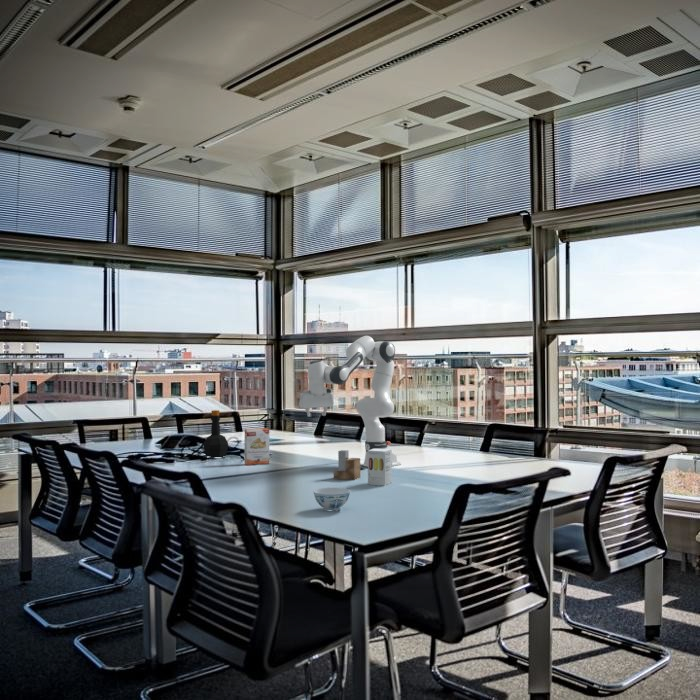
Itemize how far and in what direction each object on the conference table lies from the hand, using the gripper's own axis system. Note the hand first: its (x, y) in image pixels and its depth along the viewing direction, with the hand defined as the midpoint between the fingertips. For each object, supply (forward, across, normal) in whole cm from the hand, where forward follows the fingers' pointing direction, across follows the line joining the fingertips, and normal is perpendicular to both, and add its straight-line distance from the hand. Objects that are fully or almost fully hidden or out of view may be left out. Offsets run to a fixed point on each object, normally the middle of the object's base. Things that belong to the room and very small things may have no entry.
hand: (316, 416), depth 384 cm
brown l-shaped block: (+31, +4, -22) cm, 38 cm away
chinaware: (+31, -47, -80) cm, 98 cm away
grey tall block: (+31, +3, -20) cm, 37 cm away
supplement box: (+31, +6, -46) cm, 56 cm away
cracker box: (+31, -7, +53) cm, 62 cm away
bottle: (+31, -13, +96) cm, 102 cm away
